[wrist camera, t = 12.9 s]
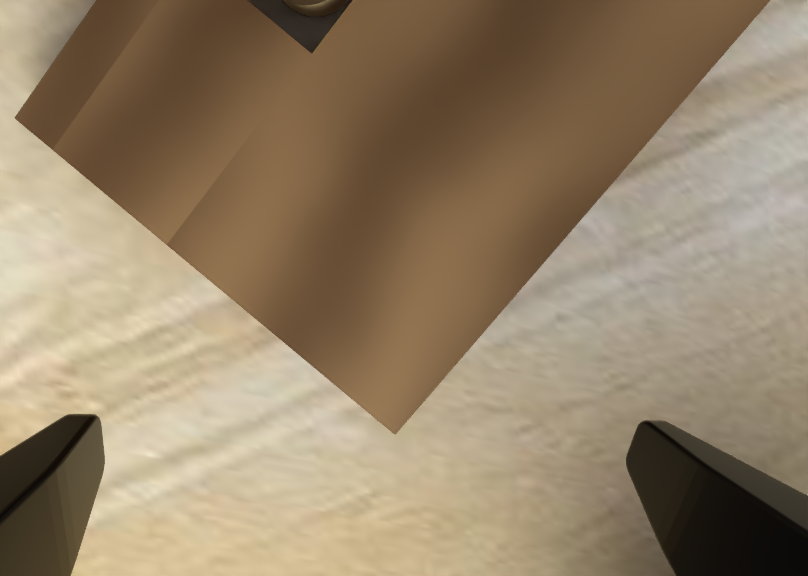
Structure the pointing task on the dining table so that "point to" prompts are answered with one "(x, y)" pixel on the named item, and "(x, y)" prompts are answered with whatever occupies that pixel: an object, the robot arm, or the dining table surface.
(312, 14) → the ash peg
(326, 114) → the walnut board
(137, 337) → the dining table surface
